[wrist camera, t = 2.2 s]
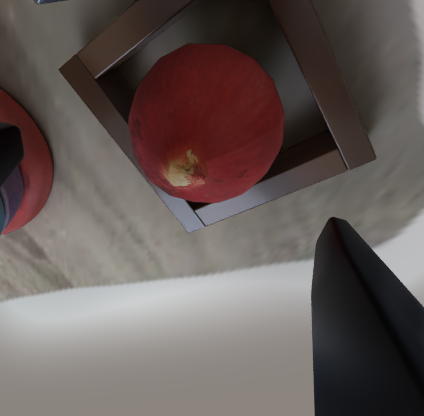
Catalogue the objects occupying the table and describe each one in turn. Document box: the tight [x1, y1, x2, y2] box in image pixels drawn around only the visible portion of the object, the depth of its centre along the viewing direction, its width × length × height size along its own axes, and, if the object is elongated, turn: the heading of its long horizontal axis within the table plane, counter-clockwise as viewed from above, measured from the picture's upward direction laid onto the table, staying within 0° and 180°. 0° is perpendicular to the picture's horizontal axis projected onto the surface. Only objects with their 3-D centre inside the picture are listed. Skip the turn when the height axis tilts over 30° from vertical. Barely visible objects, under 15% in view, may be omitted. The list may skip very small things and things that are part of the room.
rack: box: [59, 0, 377, 233], centre depth 15 cm, size 10×10×2 cm
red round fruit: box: [128, 44, 284, 203], centre depth 13 cm, size 6×6×8 cm
